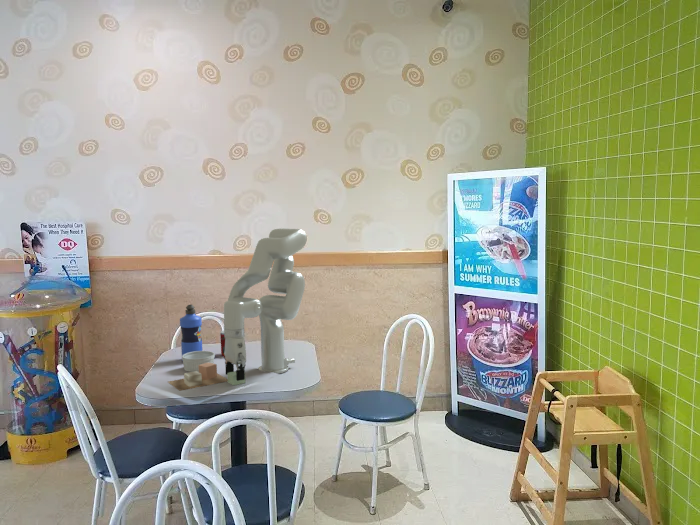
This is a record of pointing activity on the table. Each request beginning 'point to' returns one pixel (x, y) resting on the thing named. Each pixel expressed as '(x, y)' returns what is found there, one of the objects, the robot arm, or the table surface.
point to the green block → (234, 378)
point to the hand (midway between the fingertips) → (235, 377)
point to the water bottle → (191, 331)
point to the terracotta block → (208, 370)
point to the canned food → (222, 343)
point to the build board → (204, 382)
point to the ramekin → (197, 359)
